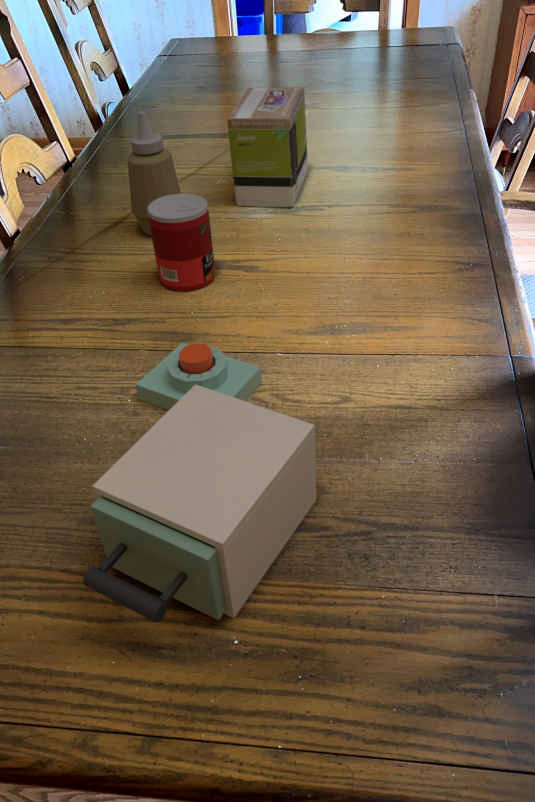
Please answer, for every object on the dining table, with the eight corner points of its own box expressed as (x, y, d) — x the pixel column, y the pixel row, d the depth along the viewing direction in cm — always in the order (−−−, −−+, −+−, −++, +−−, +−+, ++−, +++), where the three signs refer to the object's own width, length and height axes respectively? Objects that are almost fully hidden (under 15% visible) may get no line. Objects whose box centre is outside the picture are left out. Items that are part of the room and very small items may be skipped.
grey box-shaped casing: (234, 619, 58) (222, 544, 52) (114, 560, 64) (91, 485, 57) (316, 500, 68) (315, 424, 62) (206, 457, 73) (195, 383, 67)
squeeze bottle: (164, 244, 109) (145, 125, 98) (125, 233, 113) (101, 117, 101) (196, 223, 114) (181, 107, 103) (157, 213, 118) (139, 100, 106)
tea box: (254, 171, 129) (247, 85, 120) (309, 172, 127) (307, 85, 118) (234, 207, 118) (225, 115, 108) (294, 209, 116) (290, 116, 107)
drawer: (186, 665, 54) (172, 606, 49) (74, 604, 59) (51, 544, 54) (299, 507, 66) (296, 446, 61) (197, 467, 71) (187, 407, 66)
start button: (174, 370, 79) (172, 357, 78) (193, 352, 81) (191, 340, 80) (201, 379, 77) (199, 366, 76) (219, 361, 80) (218, 348, 78)
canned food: (218, 288, 98) (210, 213, 91) (161, 296, 98) (147, 221, 91) (213, 261, 104) (204, 189, 97) (158, 268, 104) (145, 196, 96)
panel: (138, 399, 81) (132, 371, 78) (184, 356, 87) (180, 329, 84) (219, 429, 76) (215, 400, 74) (262, 381, 82) (260, 353, 79)
